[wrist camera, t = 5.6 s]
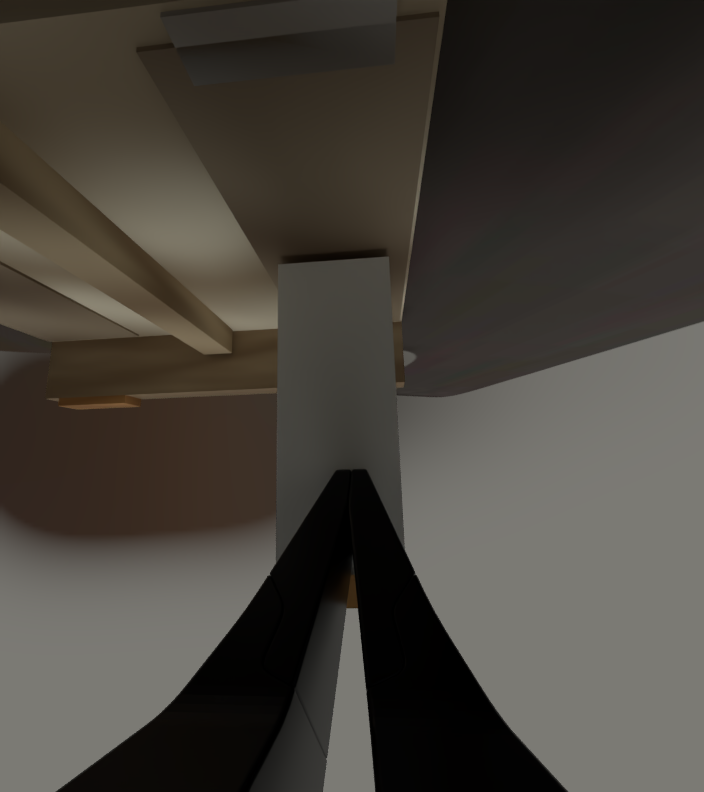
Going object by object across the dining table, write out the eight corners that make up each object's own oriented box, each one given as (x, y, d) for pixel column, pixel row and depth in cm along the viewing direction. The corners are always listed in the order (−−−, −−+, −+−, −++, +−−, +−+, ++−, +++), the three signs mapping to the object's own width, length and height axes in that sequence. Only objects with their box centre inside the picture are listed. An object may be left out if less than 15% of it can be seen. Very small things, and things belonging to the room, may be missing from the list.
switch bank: (-583, 62, 6) (-702, 281, 6) (447, -77, 5) (474, 181, 4) (73, 335, 20) (64, 410, 19) (399, 315, 19) (403, 394, 18)
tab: (276, 263, 11) (273, 608, 10) (390, 255, 11) (409, 607, 9) (303, 315, 16) (304, 565, 14) (387, 310, 15) (401, 564, 13)
